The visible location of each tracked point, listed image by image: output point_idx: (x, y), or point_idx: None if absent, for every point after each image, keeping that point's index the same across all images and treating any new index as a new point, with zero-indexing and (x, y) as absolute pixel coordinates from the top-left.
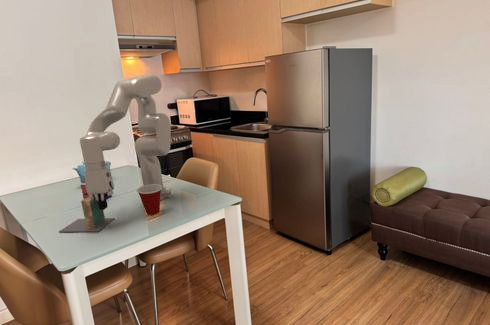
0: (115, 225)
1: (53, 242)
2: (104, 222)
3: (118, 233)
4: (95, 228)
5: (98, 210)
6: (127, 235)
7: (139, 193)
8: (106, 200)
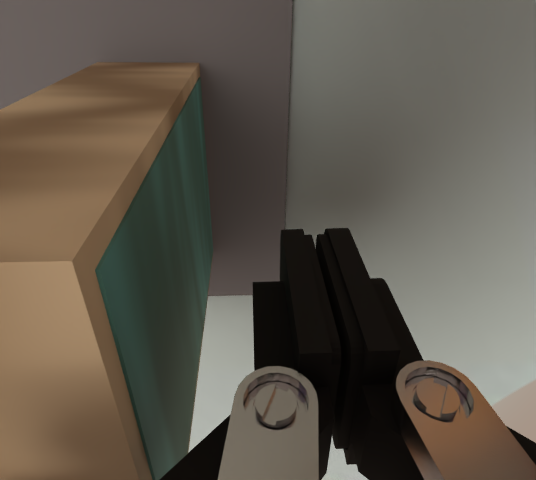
0: (372, 161)
1: None
2: (227, 124)
3: (457, 297)
4: (224, 254)
5: (187, 230)
6: (533, 320)
7: None
8: (418, 355)
